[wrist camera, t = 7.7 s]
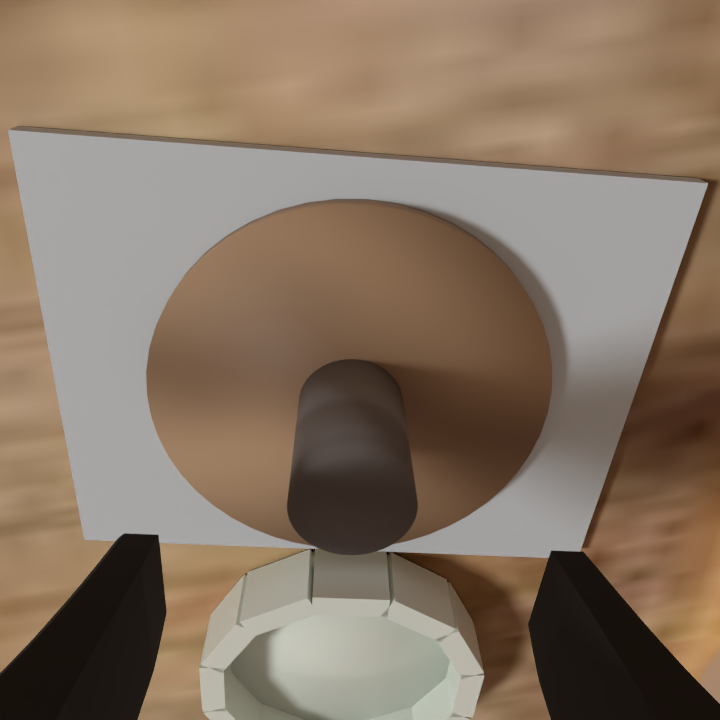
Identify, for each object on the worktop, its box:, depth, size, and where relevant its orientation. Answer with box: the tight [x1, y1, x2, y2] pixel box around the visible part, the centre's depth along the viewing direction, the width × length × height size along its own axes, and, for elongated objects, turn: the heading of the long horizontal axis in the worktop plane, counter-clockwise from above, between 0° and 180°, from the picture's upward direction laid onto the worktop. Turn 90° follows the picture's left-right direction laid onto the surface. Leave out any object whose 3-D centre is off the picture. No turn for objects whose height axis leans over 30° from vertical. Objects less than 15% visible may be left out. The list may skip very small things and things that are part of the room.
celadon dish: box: [199, 549, 484, 720], centre depth 23 cm, size 10×10×2 cm
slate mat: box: [8, 126, 708, 558], centre depth 18 cm, size 12×16×1 cm
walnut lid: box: [146, 199, 552, 555], centre depth 15 cm, size 11×11×5 cm
